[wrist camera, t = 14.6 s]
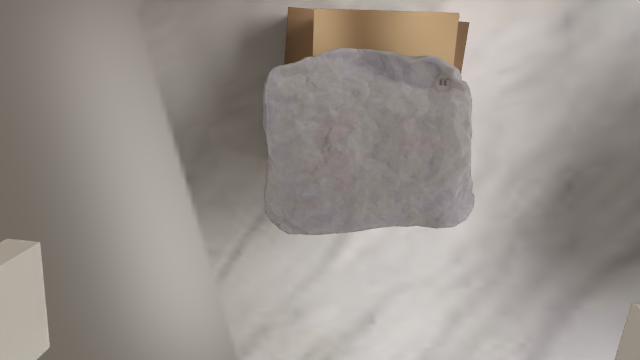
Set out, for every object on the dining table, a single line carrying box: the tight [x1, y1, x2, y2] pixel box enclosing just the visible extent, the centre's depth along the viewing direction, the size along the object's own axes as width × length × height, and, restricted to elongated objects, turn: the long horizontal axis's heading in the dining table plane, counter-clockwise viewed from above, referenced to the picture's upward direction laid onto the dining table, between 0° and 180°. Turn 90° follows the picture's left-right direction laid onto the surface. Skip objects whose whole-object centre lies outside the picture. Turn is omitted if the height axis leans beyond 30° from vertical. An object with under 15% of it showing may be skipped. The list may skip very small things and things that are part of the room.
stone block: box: [262, 48, 474, 235], centre depth 25 cm, size 12×5×10 cm
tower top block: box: [313, 9, 459, 66], centre depth 28 cm, size 8×10×5 cm
